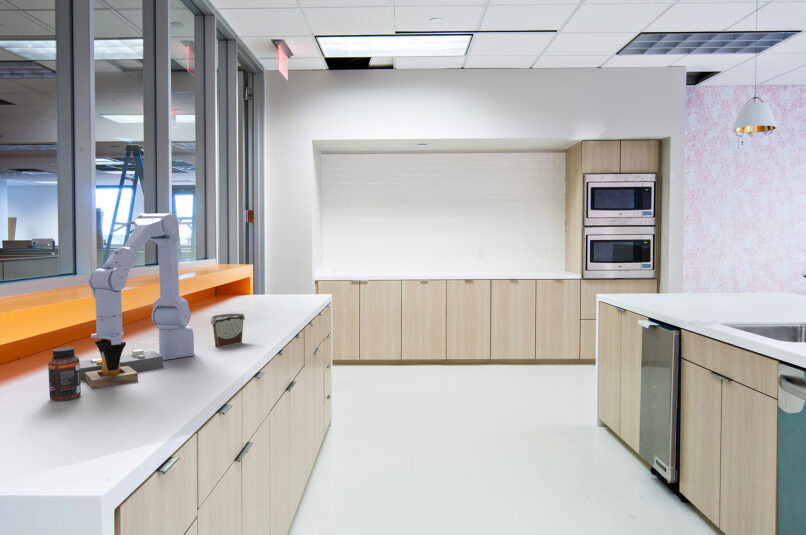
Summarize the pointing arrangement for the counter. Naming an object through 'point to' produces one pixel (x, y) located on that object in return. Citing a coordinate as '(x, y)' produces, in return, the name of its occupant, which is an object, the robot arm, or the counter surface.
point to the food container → (227, 329)
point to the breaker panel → (126, 363)
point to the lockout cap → (105, 370)
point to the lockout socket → (111, 377)
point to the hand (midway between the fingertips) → (110, 368)
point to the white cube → (96, 360)
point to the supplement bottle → (64, 375)
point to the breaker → (137, 353)
